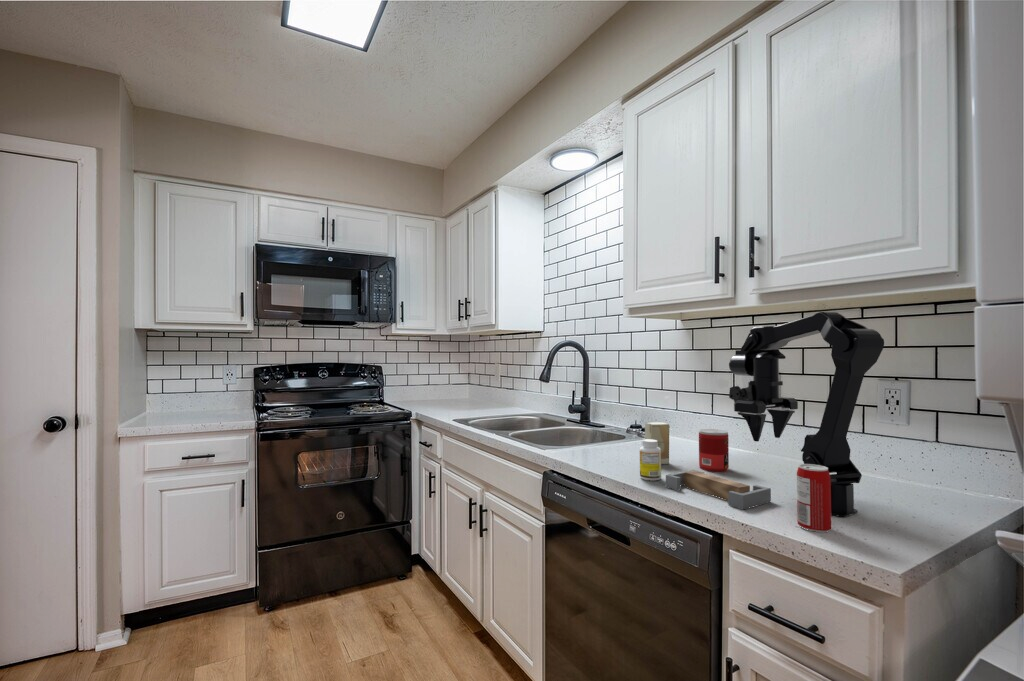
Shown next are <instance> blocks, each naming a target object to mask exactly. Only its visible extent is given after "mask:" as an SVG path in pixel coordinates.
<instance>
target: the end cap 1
mask: <svg viewBox="0 0 1024 681" xmlns="http://www.w3.org/2000/svg"><path fill="white" fill-rule="evenodd" d="M689 471H698V472H701V473H705V472H703V471H699V470H695V469H691V470H686V471H685V470H684V471H680V472H675V473H671V474H665V488H667V487H669V488H668V489H671V488H672V490H675V491H680V490H681V486H685V485H684V484H685V473H684V472H689ZM680 485H681V486H680Z"/></svg>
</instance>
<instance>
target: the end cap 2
mask: <svg viewBox="0 0 1024 681" xmlns="http://www.w3.org/2000/svg"><path fill="white" fill-rule="evenodd" d="M771 491H772V490H771V487H765V486H763V485H758V484H753V485H752V490H750V492H746V493H738V492H734V491H729V492H728V501H727V502H728V506H729V505H730V507H733V506H734V507H733V508H736V507H737V509H740V510H746V508H747V509H749V507H750V508H754V507H757V506H756V505H758V506H761V505H764V503H765V504H768V503H771V502H772V496H771V495H772V494H771V493H772V492H771ZM770 501H771V502H770ZM767 502H768V503H767ZM760 504H761V505H760ZM753 506H754V507H753Z"/></svg>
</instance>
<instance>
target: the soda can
mask: <svg viewBox="0 0 1024 681" xmlns="http://www.w3.org/2000/svg"><path fill="white" fill-rule="evenodd" d="M830 474H831V473H829V471H828V468H827V467H825V466H821V465H815V464H804V463H800V464H798V467H797V470H796V507H797V509H796V510H797V511H796V512H797V513H796V514H797V515H796V516H797V518H796V519H797V525H799V526H801V527H803V528H805V529H808V530H811V531H817V532H816V533H819V532H825V533H828V532H829V531H831V530H832V514H831V479H830ZM801 527H800V528H801ZM803 528H802V529H803ZM805 529H804V530H805ZM808 530H807V531H808ZM811 531H810V532H811ZM827 531H828V532H827Z"/></svg>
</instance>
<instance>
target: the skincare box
mask: <svg viewBox="0 0 1024 681" xmlns="http://www.w3.org/2000/svg"><path fill="white" fill-rule="evenodd" d="M644 439H653V440H657V441H658V447H659V448H660V449H661V465H669V464H670V423H666V422H662V421H661V422H659V421H657V422H656V421H655V422H652V421H651V422H645V423H644Z"/></svg>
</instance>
